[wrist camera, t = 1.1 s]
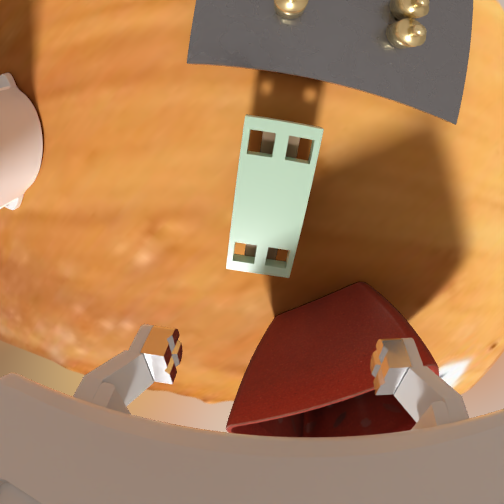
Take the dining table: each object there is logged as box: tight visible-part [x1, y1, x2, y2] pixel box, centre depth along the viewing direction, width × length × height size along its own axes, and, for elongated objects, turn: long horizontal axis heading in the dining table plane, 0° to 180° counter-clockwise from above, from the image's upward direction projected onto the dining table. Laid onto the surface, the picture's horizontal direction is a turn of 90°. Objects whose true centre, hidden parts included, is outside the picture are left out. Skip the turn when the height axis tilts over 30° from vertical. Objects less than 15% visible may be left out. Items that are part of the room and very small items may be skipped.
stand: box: [245, 131, 300, 260], centre depth 28 cm, size 3×12×4 cm, turn 172°
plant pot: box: [226, 282, 439, 437], centre depth 32 cm, size 19×19×17 cm
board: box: [226, 114, 324, 278], centre depth 25 cm, size 14×6×1 cm, turn 172°
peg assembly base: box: [187, 0, 473, 125], centre depth 17 cm, size 26×16×6 cm, turn 82°
